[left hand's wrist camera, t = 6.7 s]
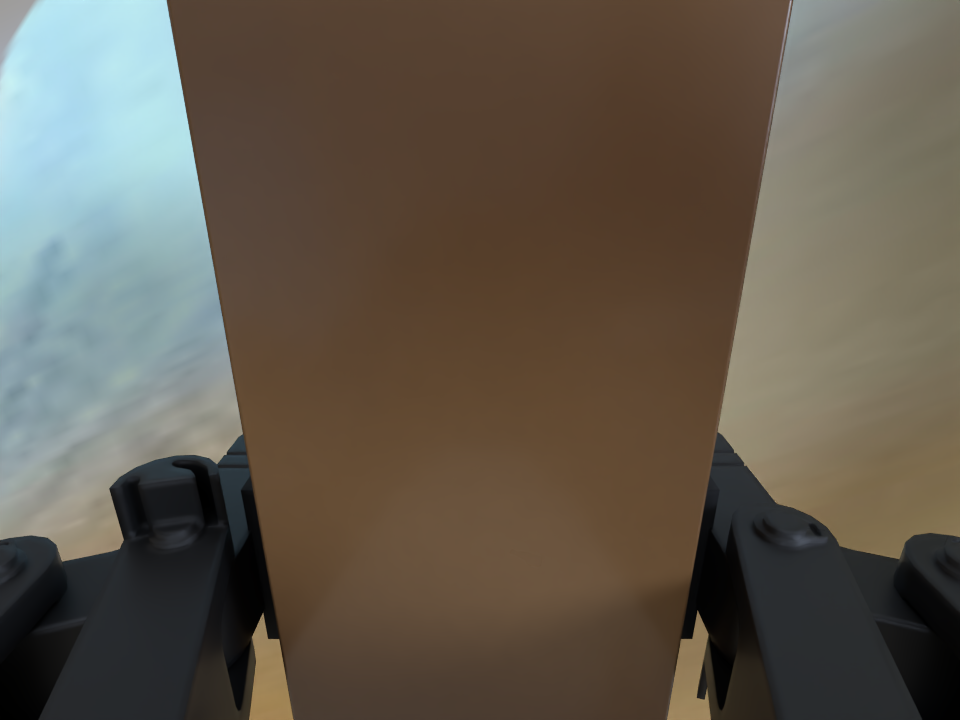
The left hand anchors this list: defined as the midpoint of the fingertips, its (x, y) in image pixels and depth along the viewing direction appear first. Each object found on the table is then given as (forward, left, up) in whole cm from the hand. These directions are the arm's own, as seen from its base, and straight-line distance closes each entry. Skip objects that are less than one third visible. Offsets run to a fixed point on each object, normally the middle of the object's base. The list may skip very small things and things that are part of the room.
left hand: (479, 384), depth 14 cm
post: (+16, +28, -1) cm, 32 cm away
